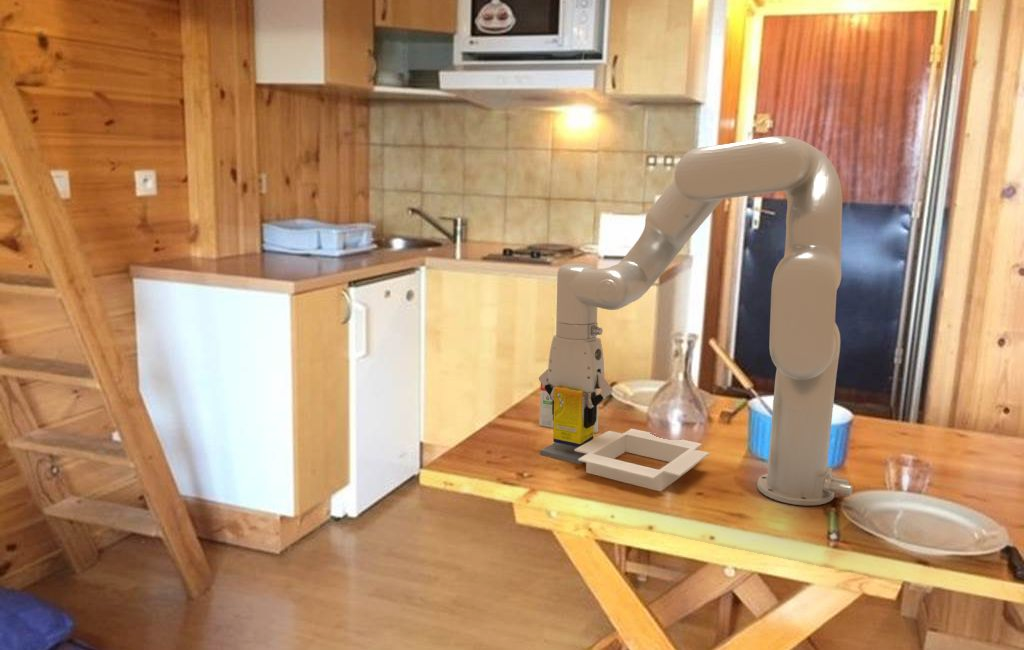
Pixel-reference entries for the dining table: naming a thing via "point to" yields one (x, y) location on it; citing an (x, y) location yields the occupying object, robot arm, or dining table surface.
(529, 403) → the dining table surface
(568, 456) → the coaster
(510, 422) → the dining table surface
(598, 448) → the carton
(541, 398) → the ink box
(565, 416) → the supplement box
